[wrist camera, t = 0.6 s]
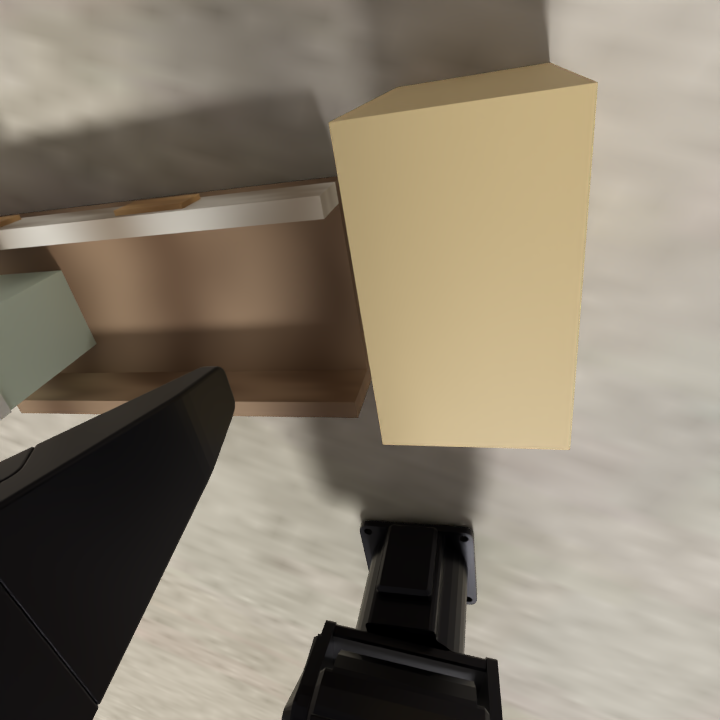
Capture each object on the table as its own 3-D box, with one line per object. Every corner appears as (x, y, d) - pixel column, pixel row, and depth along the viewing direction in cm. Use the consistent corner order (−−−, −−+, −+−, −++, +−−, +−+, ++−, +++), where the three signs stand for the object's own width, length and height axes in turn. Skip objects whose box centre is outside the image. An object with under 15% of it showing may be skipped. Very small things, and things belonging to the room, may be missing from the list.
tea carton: (541, 301, 21) (570, 450, 13) (416, 307, 22) (378, 444, 14) (549, 62, 16) (598, 82, 9) (393, 87, 18) (322, 123, 10)
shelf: (68, 375, 29) (21, 412, 26) (-18, 213, 24) (-87, 237, 21) (373, 372, 24) (358, 417, 21) (340, 170, 19) (314, 193, 17)
